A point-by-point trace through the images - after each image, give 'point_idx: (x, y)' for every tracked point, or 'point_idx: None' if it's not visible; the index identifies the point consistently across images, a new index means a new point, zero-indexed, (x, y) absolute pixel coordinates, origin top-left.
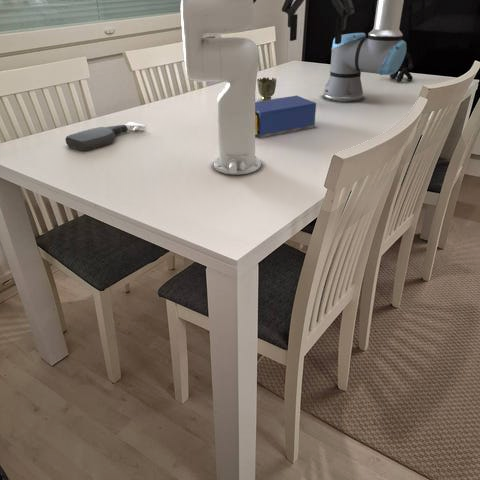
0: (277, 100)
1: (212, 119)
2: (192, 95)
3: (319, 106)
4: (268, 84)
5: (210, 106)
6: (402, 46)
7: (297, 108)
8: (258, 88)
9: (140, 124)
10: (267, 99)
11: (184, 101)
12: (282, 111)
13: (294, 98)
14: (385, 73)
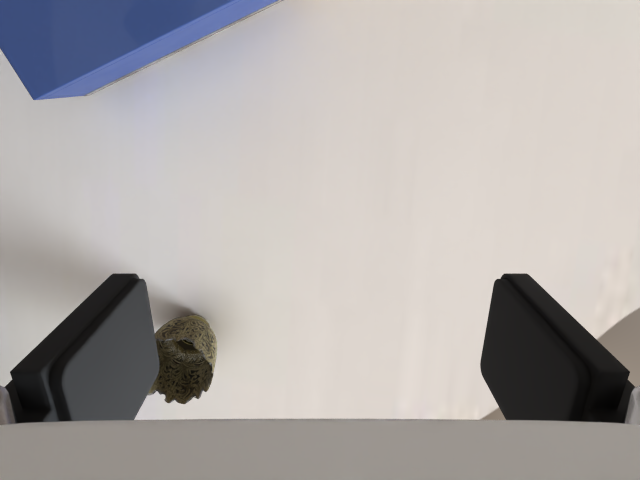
0: (121, 16)
1: (403, 128)
2: (443, 413)
3: (4, 238)
4: (169, 334)
5: (395, 286)
6: None
7: None
8: (214, 346)
9: None
10: (190, 315)
11: (478, 353)
12: None
13: (40, 42)
14: None
